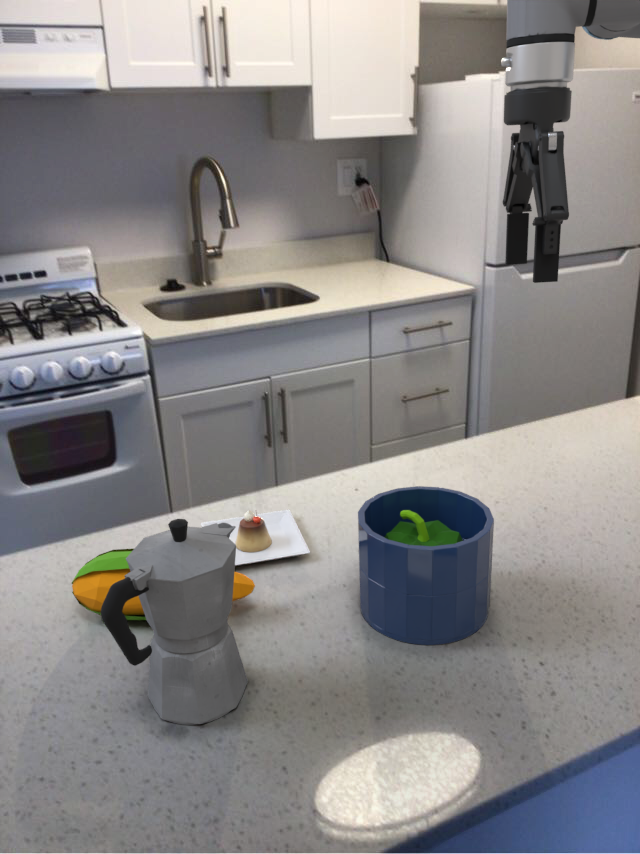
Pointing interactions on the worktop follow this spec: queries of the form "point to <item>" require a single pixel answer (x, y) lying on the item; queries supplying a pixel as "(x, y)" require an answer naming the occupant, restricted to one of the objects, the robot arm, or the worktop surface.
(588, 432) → the worktop surface
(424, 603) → the pot
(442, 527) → the bell pepper
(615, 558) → the worktop surface
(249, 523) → the dessert
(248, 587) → the corn
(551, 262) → the robot arm
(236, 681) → the coffeepot
